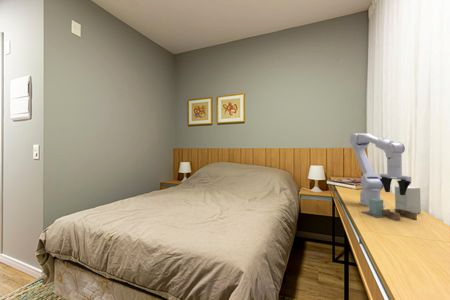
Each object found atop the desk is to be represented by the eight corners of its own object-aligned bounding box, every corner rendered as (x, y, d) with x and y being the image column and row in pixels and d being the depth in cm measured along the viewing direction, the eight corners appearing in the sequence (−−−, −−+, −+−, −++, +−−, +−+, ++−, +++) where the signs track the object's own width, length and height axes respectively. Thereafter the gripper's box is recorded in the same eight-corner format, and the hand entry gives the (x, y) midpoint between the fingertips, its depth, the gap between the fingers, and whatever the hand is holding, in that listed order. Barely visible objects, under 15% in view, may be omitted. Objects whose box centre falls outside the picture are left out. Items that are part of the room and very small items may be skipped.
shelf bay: (382, 215, 99) (382, 209, 99) (400, 214, 101) (400, 208, 101) (398, 220, 92) (398, 214, 92) (416, 219, 93) (416, 212, 93)
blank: (369, 212, 103) (369, 198, 103) (376, 212, 104) (375, 198, 104) (376, 215, 99) (376, 200, 99) (383, 214, 100) (383, 200, 100)
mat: (360, 212, 105) (360, 211, 105) (376, 211, 107) (376, 210, 107) (376, 217, 96) (376, 216, 96) (392, 216, 98) (392, 215, 98)
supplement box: (421, 213, 103) (421, 188, 103) (406, 213, 103) (406, 188, 103) (408, 209, 110) (408, 185, 111) (394, 209, 111) (394, 185, 111)
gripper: (374, 165, 110) (375, 191, 110) (402, 167, 96) (402, 196, 96) (386, 165, 111) (386, 190, 111) (414, 167, 97) (415, 196, 97)
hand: (394, 193), depth 103 cm, fingers open, 7 cm apart
